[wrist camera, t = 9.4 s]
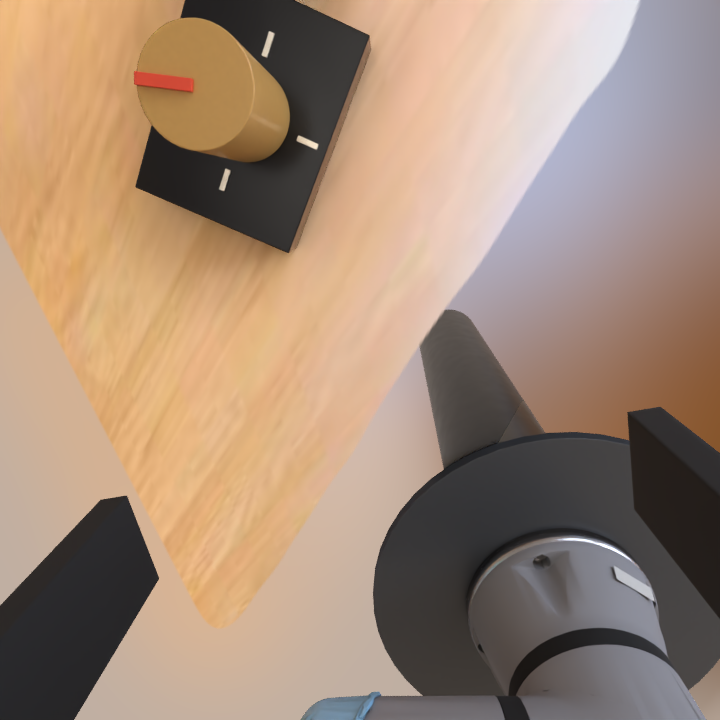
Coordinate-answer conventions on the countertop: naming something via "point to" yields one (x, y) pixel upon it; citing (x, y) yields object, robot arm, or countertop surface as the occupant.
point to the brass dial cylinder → (210, 92)
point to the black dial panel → (305, 133)
